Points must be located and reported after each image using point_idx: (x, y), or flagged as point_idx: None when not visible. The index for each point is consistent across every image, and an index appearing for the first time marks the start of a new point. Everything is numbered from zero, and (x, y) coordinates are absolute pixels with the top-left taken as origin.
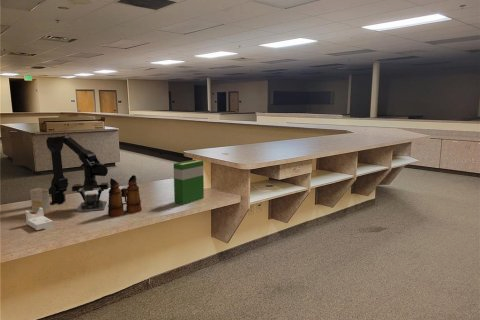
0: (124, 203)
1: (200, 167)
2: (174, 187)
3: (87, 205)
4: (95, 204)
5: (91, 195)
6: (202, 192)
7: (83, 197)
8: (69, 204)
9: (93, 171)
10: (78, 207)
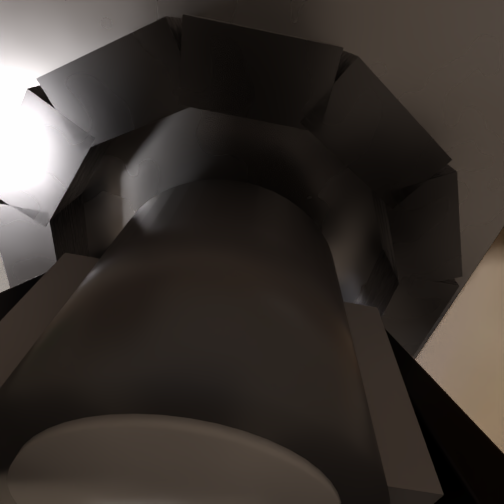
0: None
1: None
2: None
3: (341, 106)
4: (121, 117)
5: (146, 437)
6: None
7: (463, 438)
8: (495, 440)
9: None
10: (492, 232)
